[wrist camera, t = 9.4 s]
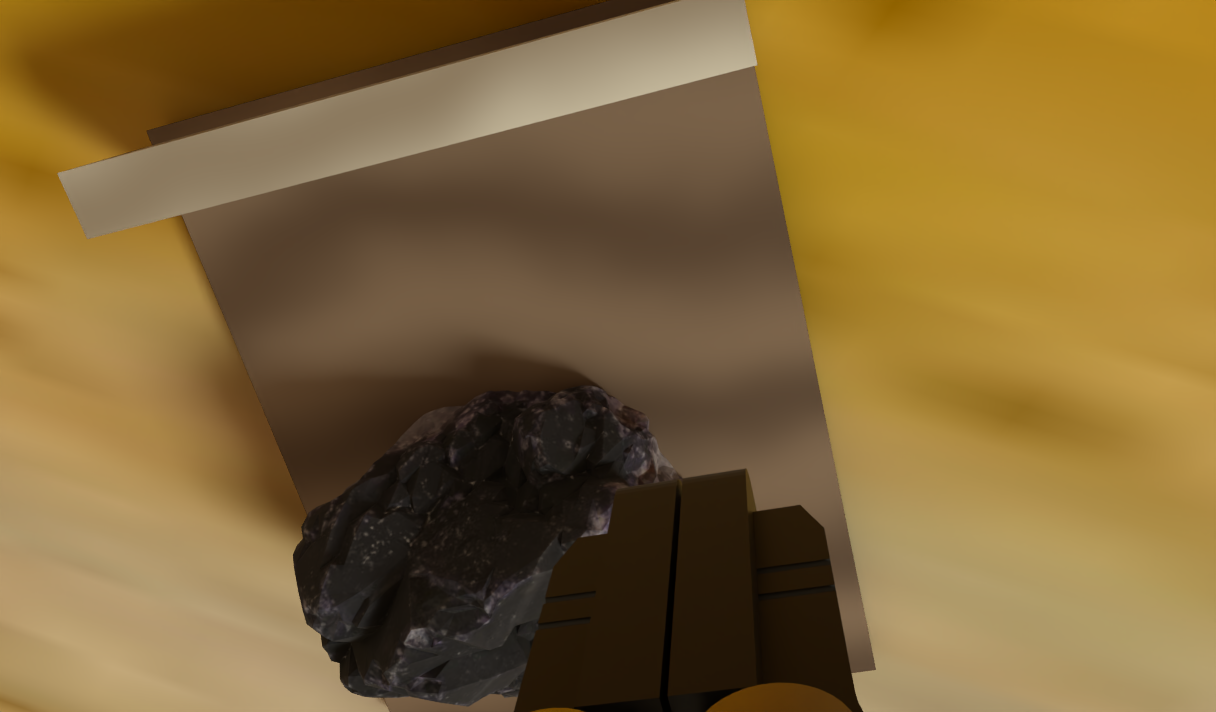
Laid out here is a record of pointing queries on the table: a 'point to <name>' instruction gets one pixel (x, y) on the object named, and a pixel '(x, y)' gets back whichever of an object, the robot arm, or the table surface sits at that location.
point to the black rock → (465, 539)
